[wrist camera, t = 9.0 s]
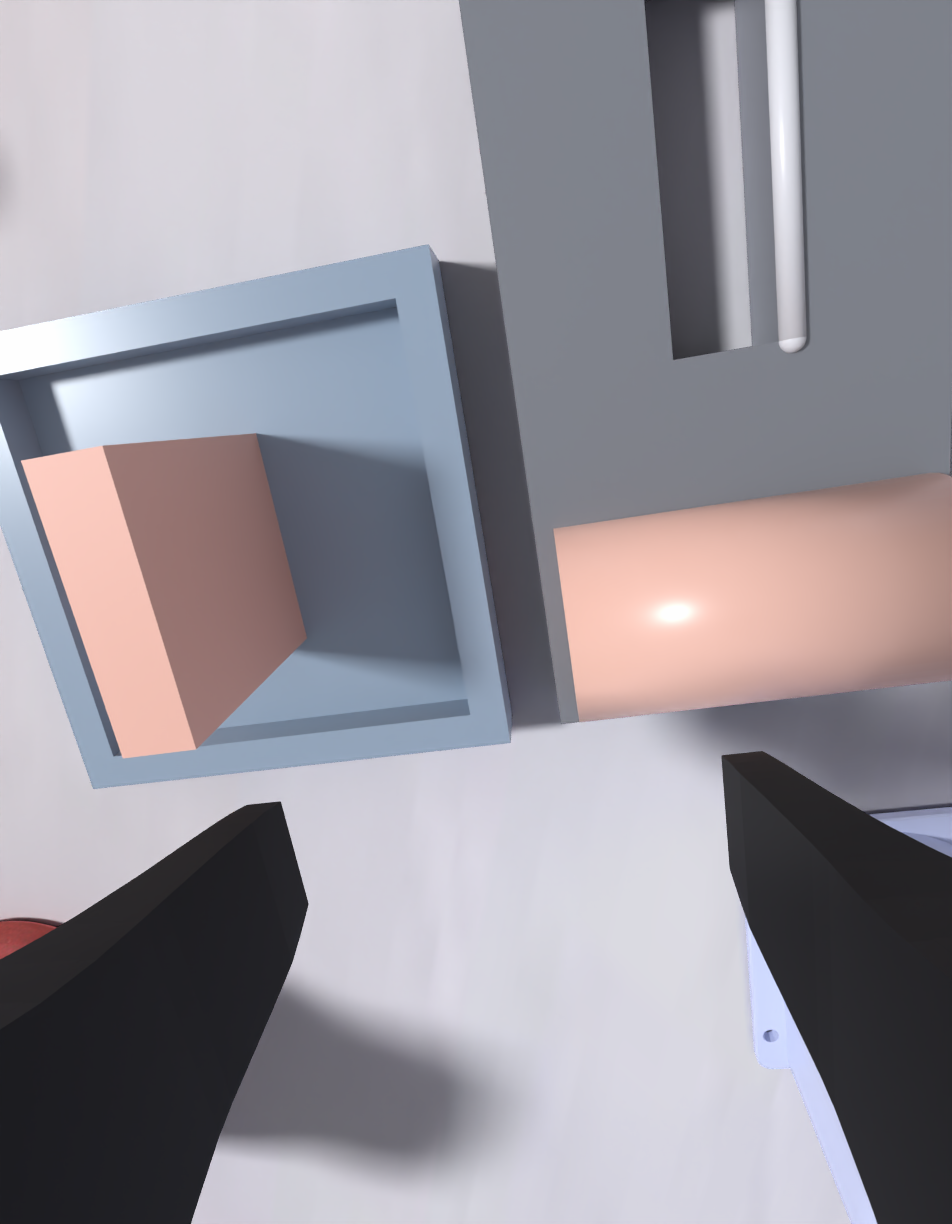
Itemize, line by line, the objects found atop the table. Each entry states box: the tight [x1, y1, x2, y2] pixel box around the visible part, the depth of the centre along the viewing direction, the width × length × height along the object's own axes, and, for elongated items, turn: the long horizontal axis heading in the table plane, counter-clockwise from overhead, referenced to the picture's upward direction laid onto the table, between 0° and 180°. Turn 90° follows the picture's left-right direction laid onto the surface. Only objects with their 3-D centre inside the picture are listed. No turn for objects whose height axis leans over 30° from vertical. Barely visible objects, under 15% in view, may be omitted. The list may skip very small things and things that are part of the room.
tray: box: [0, 244, 512, 789], centre depth 19 cm, size 13×13×2 cm
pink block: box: [21, 433, 307, 758], centre depth 16 cm, size 6×2×7 cm, turn 10°
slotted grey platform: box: [459, 0, 952, 724], centre depth 15 cm, size 18×10×5 cm, turn 9°
